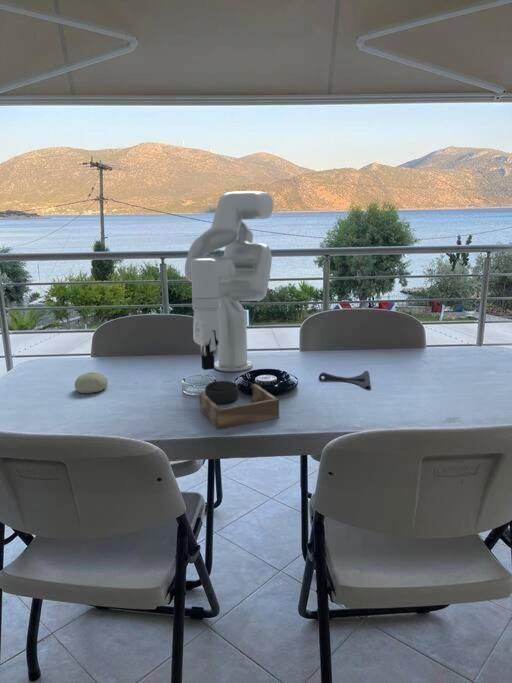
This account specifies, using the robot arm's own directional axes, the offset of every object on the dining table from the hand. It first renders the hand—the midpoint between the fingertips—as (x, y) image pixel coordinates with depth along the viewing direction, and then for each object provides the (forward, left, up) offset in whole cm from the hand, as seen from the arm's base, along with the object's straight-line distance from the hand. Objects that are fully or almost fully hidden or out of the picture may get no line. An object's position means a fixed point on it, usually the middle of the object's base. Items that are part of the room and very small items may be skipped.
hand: (208, 368), depth 136 cm
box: (+20, +1, -6) cm, 21 cm away
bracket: (+11, +39, -7) cm, 41 cm away
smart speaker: (+9, +1, -7) cm, 11 cm away
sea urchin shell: (-16, -30, -7) cm, 35 cm away
